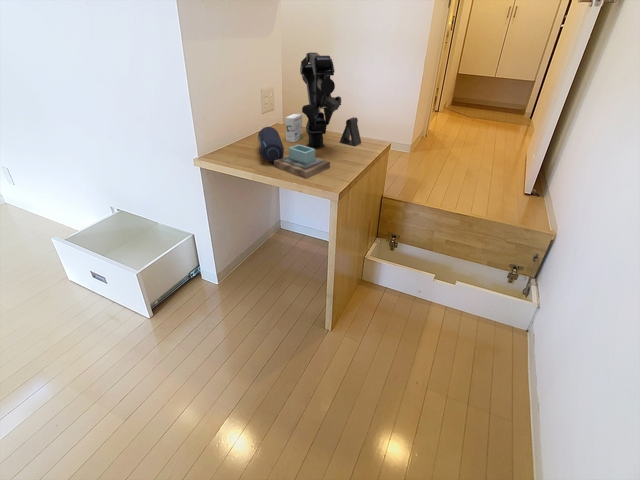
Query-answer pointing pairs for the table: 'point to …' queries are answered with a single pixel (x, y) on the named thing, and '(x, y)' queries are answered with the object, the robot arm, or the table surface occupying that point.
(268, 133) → the portable speaker
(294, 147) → the box
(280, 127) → the table surface
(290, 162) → the walnut stand
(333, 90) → the robot arm
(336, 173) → the table surface
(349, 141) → the phone stand
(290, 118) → the ink box
